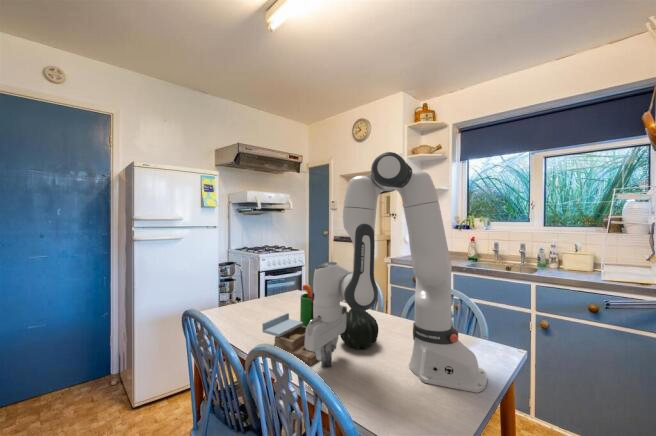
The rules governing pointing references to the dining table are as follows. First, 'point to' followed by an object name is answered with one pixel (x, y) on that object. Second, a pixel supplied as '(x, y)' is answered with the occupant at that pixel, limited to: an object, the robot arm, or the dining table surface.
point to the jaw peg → (327, 355)
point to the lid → (280, 325)
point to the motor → (306, 306)
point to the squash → (360, 329)
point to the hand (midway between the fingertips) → (326, 354)
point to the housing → (296, 345)
